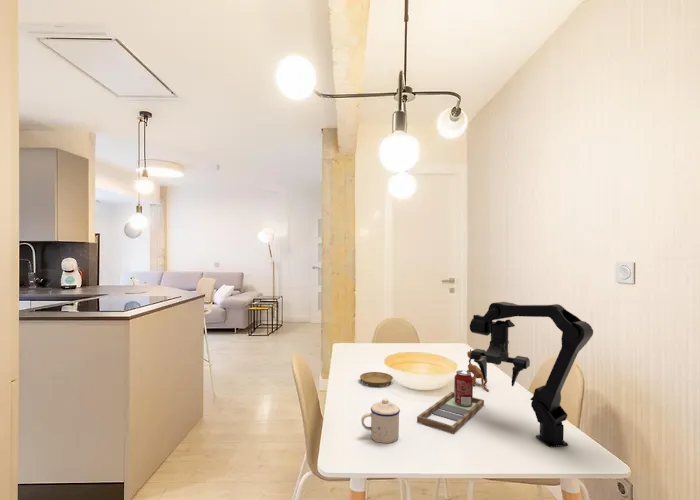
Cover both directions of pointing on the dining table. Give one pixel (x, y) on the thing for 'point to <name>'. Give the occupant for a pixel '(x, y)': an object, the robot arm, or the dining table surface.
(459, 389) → the soda can
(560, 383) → the robot arm
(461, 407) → the pad
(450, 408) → the pads
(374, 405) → the teacup with lid
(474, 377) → the cat figurine
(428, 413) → the walnut tray
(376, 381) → the plant saucer
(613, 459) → the dining table surface
